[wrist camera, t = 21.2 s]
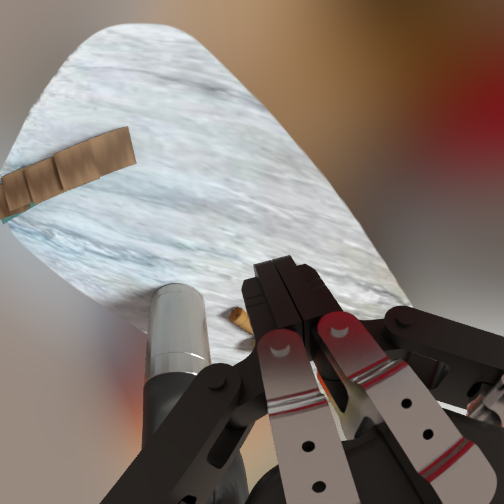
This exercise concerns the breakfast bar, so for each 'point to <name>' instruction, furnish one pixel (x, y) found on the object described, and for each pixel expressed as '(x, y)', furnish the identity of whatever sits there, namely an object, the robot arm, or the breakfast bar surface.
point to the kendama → (241, 320)
